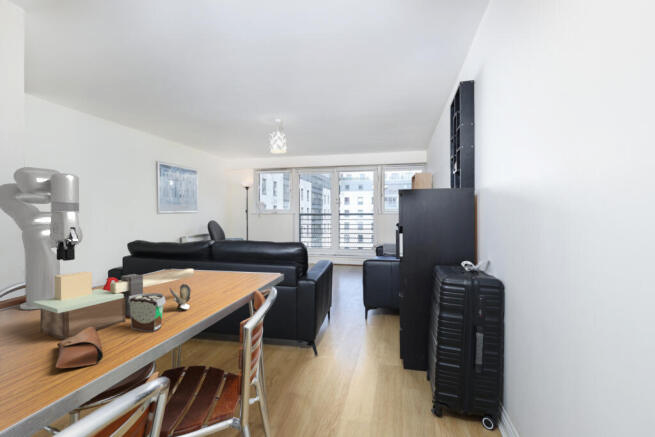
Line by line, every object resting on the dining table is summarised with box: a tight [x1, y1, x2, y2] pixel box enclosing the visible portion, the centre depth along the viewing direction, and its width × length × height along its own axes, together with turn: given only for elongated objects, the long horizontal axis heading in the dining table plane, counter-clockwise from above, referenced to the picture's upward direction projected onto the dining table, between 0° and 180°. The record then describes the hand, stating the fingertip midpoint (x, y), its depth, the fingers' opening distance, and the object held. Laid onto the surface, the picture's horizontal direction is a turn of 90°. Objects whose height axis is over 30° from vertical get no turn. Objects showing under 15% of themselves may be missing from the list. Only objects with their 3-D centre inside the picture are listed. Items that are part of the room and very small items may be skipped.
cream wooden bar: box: [110, 268, 195, 293], centre depth 109 cm, size 3×30×3 cm, turn 154°
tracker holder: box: [102, 276, 121, 293], centre depth 118 cm, size 12×4×10 cm, turn 168°
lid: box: [33, 271, 124, 313], centre depth 91 cm, size 15×17×8 cm
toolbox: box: [40, 273, 144, 341], centre depth 94 cm, size 14×22×14 cm, turn 154°
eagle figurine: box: [169, 283, 192, 312], centre depth 107 cm, size 8×7×9 cm
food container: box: [128, 292, 166, 333], centre depth 91 cm, size 12×6×10 cm, turn 71°
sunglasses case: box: [55, 327, 104, 369], centre depth 73 cm, size 18×7×7 cm
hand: (65, 259), depth 104 cm, fingers open, 3 cm apart
